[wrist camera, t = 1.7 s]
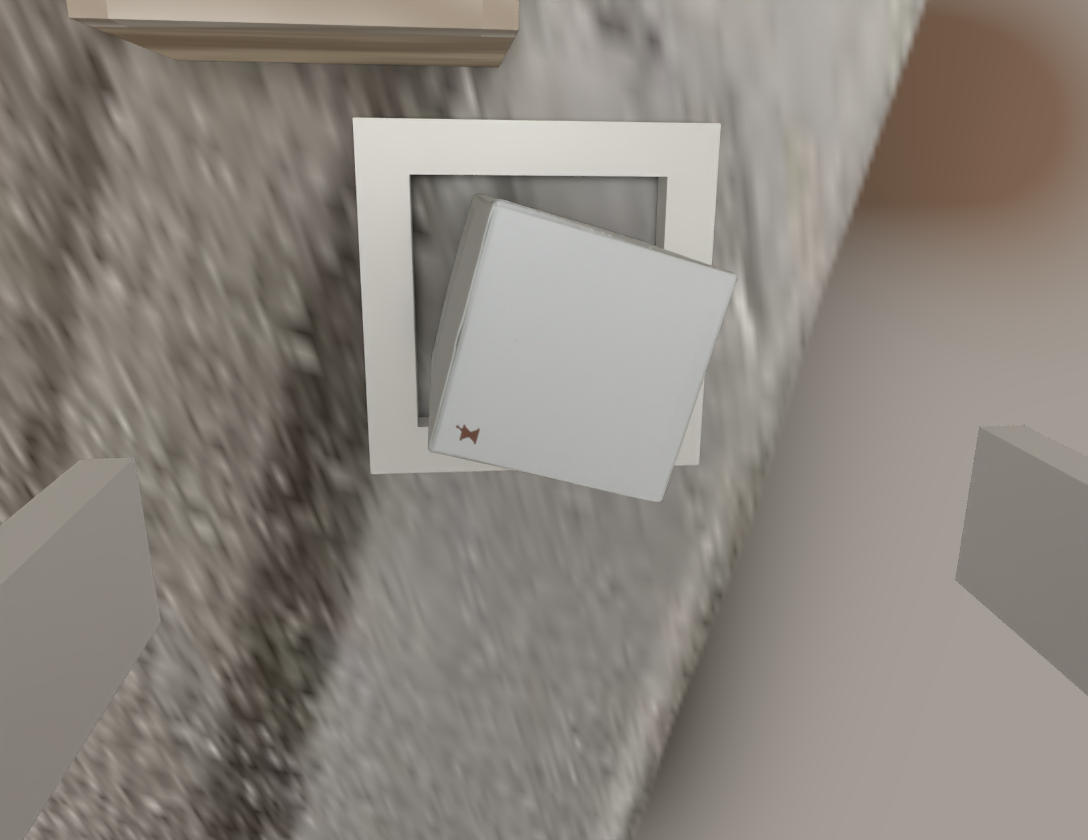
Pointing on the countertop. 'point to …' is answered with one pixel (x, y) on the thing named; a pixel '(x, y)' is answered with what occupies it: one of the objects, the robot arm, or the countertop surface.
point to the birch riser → (312, 29)
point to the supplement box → (571, 350)
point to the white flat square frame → (498, 149)
